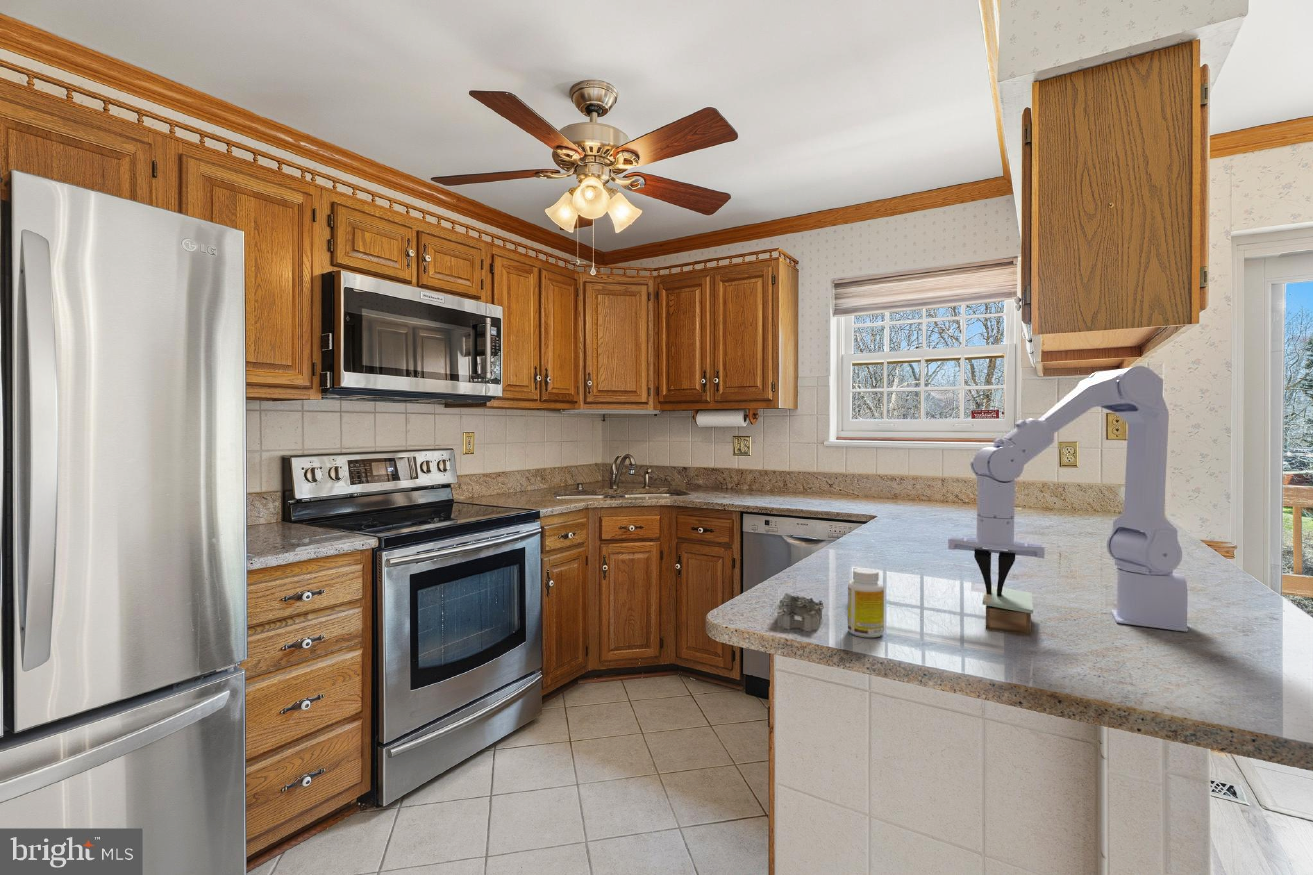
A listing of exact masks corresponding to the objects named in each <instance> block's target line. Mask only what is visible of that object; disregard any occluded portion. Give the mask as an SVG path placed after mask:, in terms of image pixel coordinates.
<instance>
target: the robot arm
mask: <svg viewBox="0 0 1313 875" xmlns="http://www.w3.org/2000/svg"><path fill="white" fill-rule="evenodd" d="M1163 391H1164V379H1163V378H1162V377H1160V376H1159V375H1158V373H1156V372H1155V371H1153V370H1152V369H1151V368H1149V367H1147V366H1144V365H1135V366H1131V367H1127V368H1118V369H1110V370H1099V371H1095V372H1093V373H1091V374H1090V375H1089V376H1088V377H1087V378H1085V379H1082V380H1081V381H1079V383H1078V384H1077V386H1076V387H1075V388H1073V390H1071V391H1070V392H1069V393H1068V394H1067V395H1066V396H1064V397H1063V398H1062V399H1061V400H1060V401H1058V402H1057V403H1056V404H1055V405H1054V406H1053V407H1051V408H1050V409H1049V410H1048V411H1047V412H1045V413H1044V414H1043V415H1042V416H1040V417H1039V418H1038V419H1036V418H1026V419H1020V420H1018V421H1017V422H1015V423H1014V426H1015V428H1013V429H1012V430H1010V431H1009V432H1008V433H1007V434H1005V435H1004V436H1003V437H999V438H998V437H997V438H996V439H994V440H993V445H992V446H988V447H982V448H981V449H980V450H978V451H977V452H976V453H975V455H974V457H973V461H971V462H970V464H969V465H970V469H971V471H972V473H973V475H975V477H976V485H977V486H976V491H977V493H976V538H973V537H952V536H949V537H948V544H947V545H948V546H947V548H948V550H950V551H951V550H953V551H955V550H961V551H971V552H972V551H973V552H974V556H973V557H974V559H975V561H976V564H977V565H978V568H979V570H980V572H981V575H982V578H983V582H984V585H985V588H986V594H990V595H991V592H992V586H993V585H992V575H991V574H992V554H998V558H997V559H998V560H997V561H998V564H997V567H998V570H997V571H998V572H997V574H998V575H997V576H998V577H997V586H996V587H997V596H999V597H1001V596H1002V589H1003V588H1004V586H1005V582H1006V579H1007V576H1008V574H1009V573H1010V570H1011V568H1012V567H1013V565H1014V563H1015V561H1016V556H1022V557H1033V558H1037V559H1045V545H1044V544H1043V545H1042V544H1035V543H1034V544H1033V543H1029V542H1028V543H1027V542H1019V541H1015V507H1016V506H1015V504H1016V503H1015V501H1016V498H1015V495H1016V479H1018V478H1020V477H1021V475H1022V474H1023V471H1024V468H1025V465H1026V464H1028V463H1029V462H1030V461H1032V460H1033V459H1035V458H1036V457H1037V456H1038V455H1040V454H1041V453H1042V452H1044V451H1045V450H1046V449H1048V448H1049V447H1050V446H1051V445H1052V444H1054V442H1055V433H1057V432H1059V431H1060V430H1061V429H1063V428H1064V427H1066V426H1067V425H1069V424H1070V423H1071V422H1073V421H1075V420H1076V419H1079V417H1080V416H1083V414H1085V413H1087V412H1088V411H1090V410H1091V409H1093V408H1096V407H1100V408H1102V409H1104V410H1107V411H1108V412H1111V413H1114V414H1116V416H1118V417H1119V418H1120V419H1122V421H1123V422H1125V423H1126V424H1127V434H1126V435H1127V439H1126V454H1125V455H1126V459H1125V461H1126V462H1125V477H1124V479H1125V482H1124V496H1123V497H1124V500H1123V512H1122V513H1121V514H1120V515H1119V516H1117V518H1115V519H1114V520H1113V522H1112V530H1111V532H1110V534H1109V535H1108V537H1107V540H1106V550H1107V553H1108V554H1109V556H1110V558H1112V559H1113V560H1114V566H1116V609H1114V608H1113V609H1111V610H1110V612H1111V614H1112V616H1113V618H1114V621H1116V623H1118V624H1123V625H1124V624H1126V625H1133V626H1140V627H1149V628H1156V629H1162V630H1172V631H1177V632H1179V631H1180V632H1186V633H1187V632H1188V631H1189V628H1188V598H1189V597H1188V585H1187V579H1186V577H1185V575H1184V574H1182V573H1175V572H1174V570H1176V569H1177V568H1178V567H1179V566H1180V565H1181V562H1182V559H1183V551H1182V547H1181V545H1180V543H1179V539H1178V532H1179V531H1178V529H1177V527H1175V526H1174V525H1173V523H1171V522H1170V520H1168V519H1167V517H1165V504H1166V503H1165V500H1166V499H1165V498H1166V484H1167V483H1166V481H1167V479H1166V478H1167V463H1168V462H1167V461H1168V460H1167V459H1168V438H1169V437H1168V436H1169V419H1170V418H1169V417H1170V414H1169V409H1168V405H1167V404H1166V401H1165V399H1164V395H1163V394H1164V393H1163Z"/></svg>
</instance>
